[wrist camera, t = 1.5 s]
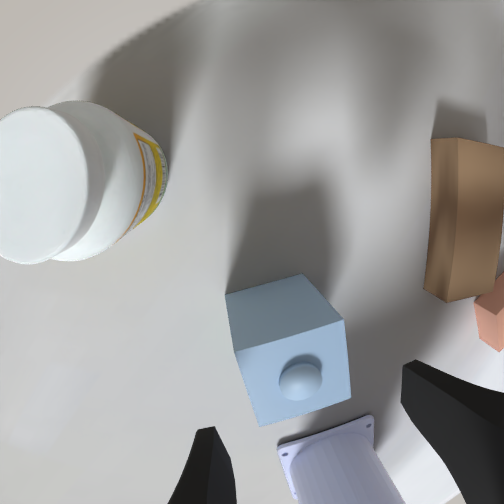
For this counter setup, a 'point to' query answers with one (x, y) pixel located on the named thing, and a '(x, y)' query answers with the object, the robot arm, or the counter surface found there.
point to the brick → (491, 315)
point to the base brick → (464, 218)
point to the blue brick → (288, 348)
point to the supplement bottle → (73, 181)
